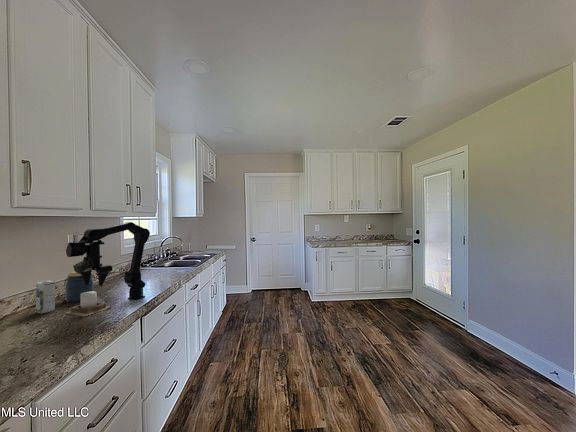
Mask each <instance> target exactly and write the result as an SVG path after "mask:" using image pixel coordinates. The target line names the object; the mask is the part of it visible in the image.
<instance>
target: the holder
mask: <svg viewBox="0 0 576 432" xmlns="http://www.w3.org/2000/svg"><path fill="white" fill-rule="evenodd" d="M108 308H109V309H111V308H112V306H109V305H107V302H99V301H98V302H97V306H94V307H91V308H87V309H84V308H81V304H78V305H75V306H72V307H70V310H69V311H66V312H65V313H64V314H65V315H69V316H70V315H71V316H78V317H84V318H85V316H86V317H88V315H89V316H92V315H93V314H96V313H99V312H100V313H101V312H103V311H106V310H108ZM91 314H92V315H91Z"/></svg>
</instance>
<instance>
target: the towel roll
mask: <svg viewBox="0 0 576 432" xmlns="http://www.w3.org/2000/svg"><path fill="white" fill-rule="evenodd" d="M97 293H98V292H97V291H92V292H85V293H81V294H80V301H79V302H80V303H79V305H81V308H84V309H87V308H91V307H94V306H97V297H98V295H97Z"/></svg>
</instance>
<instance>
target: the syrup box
mask: <svg viewBox="0 0 576 432" xmlns="http://www.w3.org/2000/svg"><path fill="white" fill-rule="evenodd" d="M53 311H56V281H53V280H42V281H37V282H36V283H35V313H38V314H46V313H49V312H53Z"/></svg>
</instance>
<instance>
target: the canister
mask: <svg viewBox="0 0 576 432" xmlns="http://www.w3.org/2000/svg"><path fill="white" fill-rule="evenodd" d="M66 276H67V278H65V279H64V281H65V282H66V283H65V285H64V288H65V298H64V299H65V302H66V303H67V302H68V303H77V302H80V294H81V293H85V292H92V291H94V287H95V286H94V283H95V282H94V277H95V276H94V275H93V272H92V271H91V276H90V281H89V284H88V285H85V282H84V280H83V278H82V276H81V275H80V274H78V273H76V272H75V271H74V270H73V271H70V272H69V273H68V274H67V275H66Z"/></svg>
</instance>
